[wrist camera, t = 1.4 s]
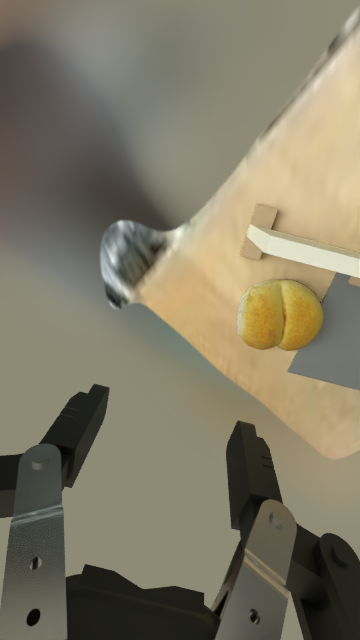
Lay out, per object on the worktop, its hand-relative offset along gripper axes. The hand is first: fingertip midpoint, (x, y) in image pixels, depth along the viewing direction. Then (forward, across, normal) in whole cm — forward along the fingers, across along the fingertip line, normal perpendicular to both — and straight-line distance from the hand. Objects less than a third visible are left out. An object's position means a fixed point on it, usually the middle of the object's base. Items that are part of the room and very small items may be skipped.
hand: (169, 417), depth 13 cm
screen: (+20, -11, -8) cm, 24 cm away
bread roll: (+20, -10, 0) cm, 22 cm away
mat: (+20, -21, 0) cm, 29 cm away
